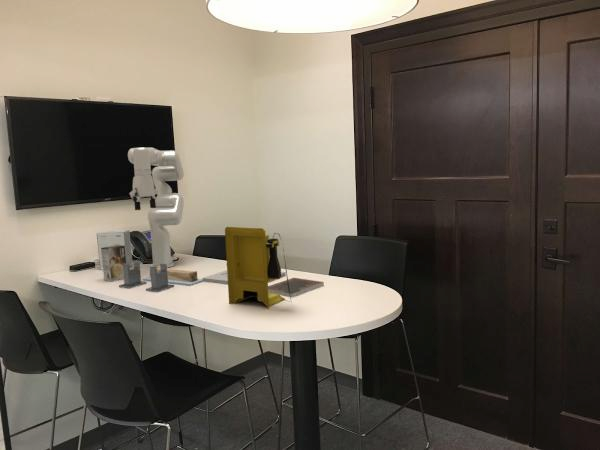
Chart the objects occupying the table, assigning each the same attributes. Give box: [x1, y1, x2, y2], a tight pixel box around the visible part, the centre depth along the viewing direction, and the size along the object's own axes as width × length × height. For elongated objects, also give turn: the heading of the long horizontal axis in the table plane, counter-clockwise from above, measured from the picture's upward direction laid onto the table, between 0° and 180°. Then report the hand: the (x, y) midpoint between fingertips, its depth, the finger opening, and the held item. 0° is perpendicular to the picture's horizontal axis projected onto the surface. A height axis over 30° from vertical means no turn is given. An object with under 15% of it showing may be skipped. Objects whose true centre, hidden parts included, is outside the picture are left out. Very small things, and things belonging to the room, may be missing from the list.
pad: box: [142, 276, 203, 287], centre depth 235 cm, size 10×30×1 cm, turn 60°
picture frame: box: [268, 277, 325, 298], centre depth 212 cm, size 16×2×22 cm
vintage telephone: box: [224, 226, 292, 310], centre depth 191 cm, size 31×14×30 cm, turn 59°
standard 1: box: [118, 260, 148, 289], centre depth 228 cm, size 10×7×10 cm
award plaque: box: [201, 269, 287, 285], centre depth 234 cm, size 25×30×2 cm
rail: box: [149, 268, 199, 282], centre depth 235 cm, size 4×26×4 cm, turn 60°
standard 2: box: [145, 264, 175, 293], centre depth 220 cm, size 10×7×10 cm
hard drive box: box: [96, 230, 134, 269], centre depth 269 cm, size 16×8×20 cm, turn 84°
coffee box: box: [101, 245, 126, 282], centre depth 242 cm, size 9×6×16 cm
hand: (145, 208), depth 243 cm, fingers open, 9 cm apart
